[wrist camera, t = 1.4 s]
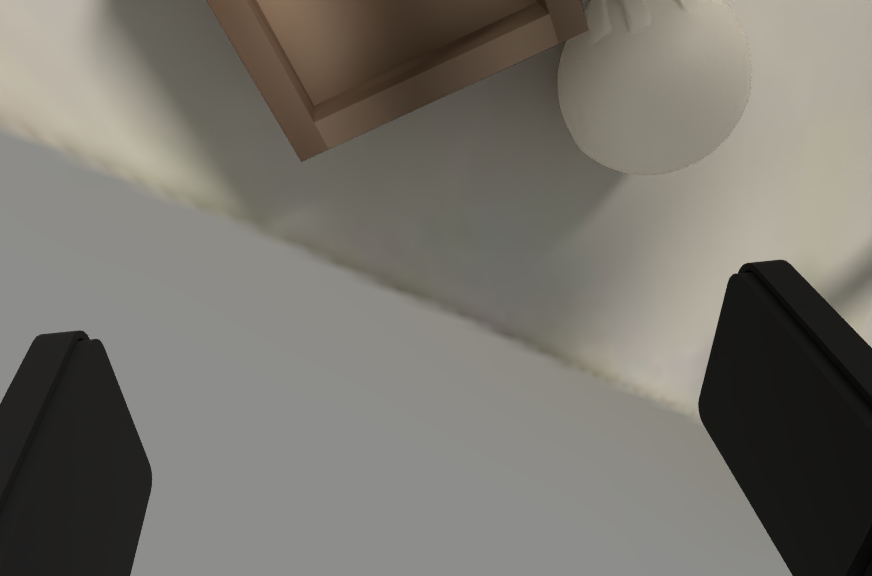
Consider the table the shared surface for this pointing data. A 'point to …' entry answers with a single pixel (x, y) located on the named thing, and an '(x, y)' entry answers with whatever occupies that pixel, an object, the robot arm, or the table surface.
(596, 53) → the steamed bun
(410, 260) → the table surface
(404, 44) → the walnut block
